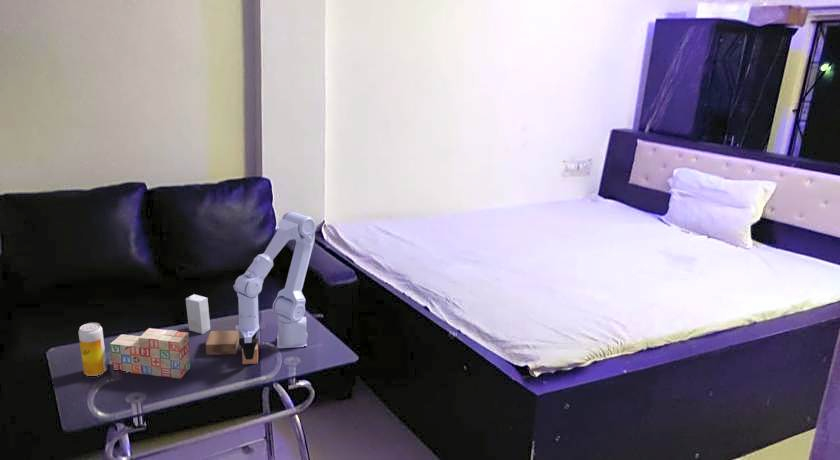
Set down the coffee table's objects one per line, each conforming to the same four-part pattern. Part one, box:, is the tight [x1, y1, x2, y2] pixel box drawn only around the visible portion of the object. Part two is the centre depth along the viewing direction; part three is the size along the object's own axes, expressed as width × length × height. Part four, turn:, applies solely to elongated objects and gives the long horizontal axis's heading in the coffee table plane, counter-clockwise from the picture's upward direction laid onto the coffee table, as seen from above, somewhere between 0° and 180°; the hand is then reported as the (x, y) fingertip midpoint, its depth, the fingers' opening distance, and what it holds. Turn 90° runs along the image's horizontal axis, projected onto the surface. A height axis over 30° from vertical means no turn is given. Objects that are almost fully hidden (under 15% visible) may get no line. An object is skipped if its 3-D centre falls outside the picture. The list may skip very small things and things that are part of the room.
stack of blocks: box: [109, 327, 191, 380], centre depth 182 cm, size 21×6×12 cm, turn 84°
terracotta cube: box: [241, 342, 259, 365], centre depth 191 cm, size 4×4×5 cm
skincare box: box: [185, 293, 211, 335], centre depth 206 cm, size 6×4×12 cm
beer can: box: [78, 322, 108, 377], centre depth 178 cm, size 6×6×15 cm
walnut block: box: [205, 329, 240, 356], centre depth 197 cm, size 9×9×4 cm
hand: (250, 352), depth 191 cm, fingers open, 7 cm apart
